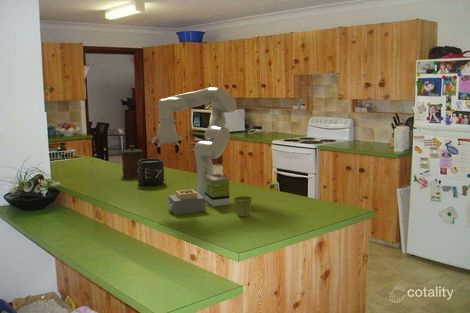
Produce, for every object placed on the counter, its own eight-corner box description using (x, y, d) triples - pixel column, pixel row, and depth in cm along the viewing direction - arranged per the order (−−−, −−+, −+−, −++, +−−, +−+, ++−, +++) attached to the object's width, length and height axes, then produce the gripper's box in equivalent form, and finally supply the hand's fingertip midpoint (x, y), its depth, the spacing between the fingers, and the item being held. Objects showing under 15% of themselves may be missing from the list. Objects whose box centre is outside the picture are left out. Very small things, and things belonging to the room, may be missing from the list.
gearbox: (198, 205, 271) (197, 187, 270) (205, 211, 258) (205, 193, 257) (166, 208, 265) (165, 191, 264) (171, 215, 252) (171, 196, 251)
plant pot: (229, 215, 249) (229, 198, 248) (243, 211, 256) (242, 195, 254) (243, 218, 243) (242, 201, 241) (256, 214, 249) (256, 197, 248)
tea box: (204, 200, 281) (203, 174, 279) (221, 198, 284) (220, 173, 282) (212, 206, 267) (211, 179, 265) (230, 204, 270) (229, 177, 268)
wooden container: (131, 173, 370) (129, 143, 367) (148, 174, 364) (146, 144, 360) (118, 176, 357) (116, 146, 354) (135, 178, 351) (133, 146, 347)
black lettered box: (132, 186, 323) (131, 162, 320) (144, 181, 340) (142, 158, 337) (158, 187, 318) (157, 163, 316) (169, 181, 336) (168, 158, 333)
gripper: (180, 120, 276) (181, 151, 279) (149, 122, 269) (150, 154, 272) (184, 121, 269) (185, 153, 272) (152, 123, 262) (154, 155, 265)
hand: (168, 153), depth 272 cm, fingers open, 9 cm apart
